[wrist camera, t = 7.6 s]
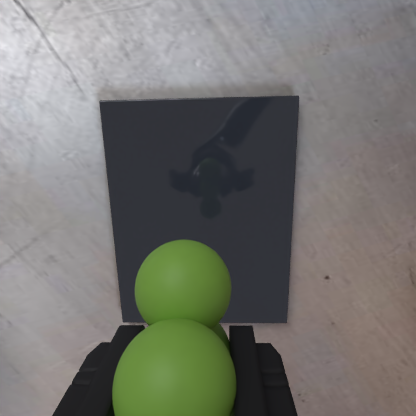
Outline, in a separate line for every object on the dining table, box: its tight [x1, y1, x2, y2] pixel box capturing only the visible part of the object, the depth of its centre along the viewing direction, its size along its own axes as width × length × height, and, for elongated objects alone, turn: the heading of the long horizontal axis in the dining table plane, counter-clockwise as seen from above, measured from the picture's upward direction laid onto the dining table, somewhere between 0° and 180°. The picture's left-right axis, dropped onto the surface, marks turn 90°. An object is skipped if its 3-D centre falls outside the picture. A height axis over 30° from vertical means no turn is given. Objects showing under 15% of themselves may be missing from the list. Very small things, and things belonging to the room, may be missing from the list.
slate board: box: [100, 96, 299, 323], centre depth 23 cm, size 18×14×1 cm
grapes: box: [112, 240, 236, 416], centre depth 8 cm, size 8×3×6 cm, turn 1°
